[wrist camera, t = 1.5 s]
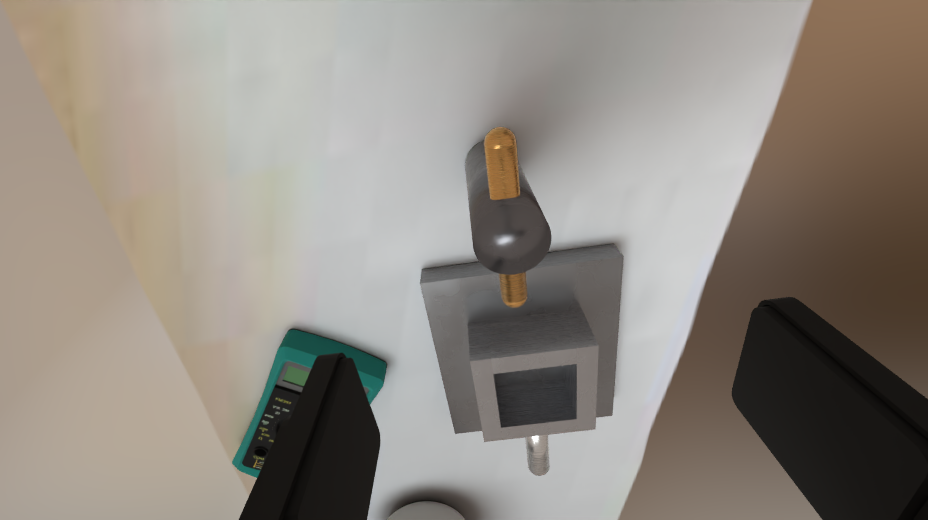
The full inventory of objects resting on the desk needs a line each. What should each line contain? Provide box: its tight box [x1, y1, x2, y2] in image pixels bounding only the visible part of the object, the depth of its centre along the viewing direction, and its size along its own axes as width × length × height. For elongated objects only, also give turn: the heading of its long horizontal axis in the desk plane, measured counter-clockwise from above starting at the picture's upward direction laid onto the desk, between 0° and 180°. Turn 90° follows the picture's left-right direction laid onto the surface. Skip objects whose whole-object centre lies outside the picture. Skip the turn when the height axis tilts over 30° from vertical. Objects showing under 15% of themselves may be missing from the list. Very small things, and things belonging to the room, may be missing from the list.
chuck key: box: [465, 127, 551, 308], centre depth 18 cm, size 8×3×9 cm, turn 8°
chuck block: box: [420, 244, 623, 476], centre depth 27 cm, size 16×12×5 cm
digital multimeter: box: [232, 330, 387, 478], centre depth 31 cm, size 7×15×3 cm, turn 152°
